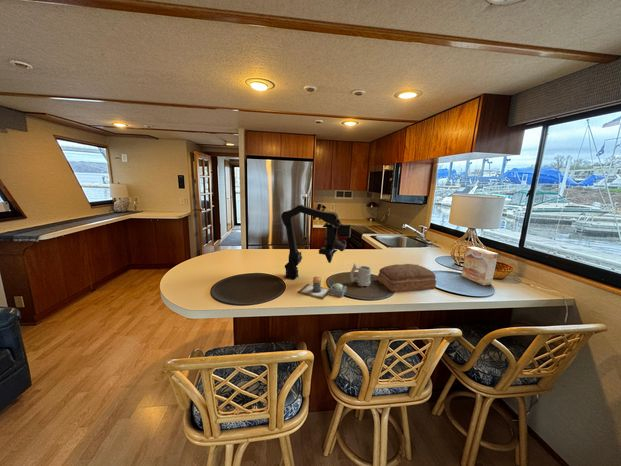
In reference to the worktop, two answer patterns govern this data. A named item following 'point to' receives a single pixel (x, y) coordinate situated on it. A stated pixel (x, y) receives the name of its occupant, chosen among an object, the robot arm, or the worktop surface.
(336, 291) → the button collar
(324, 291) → the picture frame
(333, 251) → the robot arm
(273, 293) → the worktop surface
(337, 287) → the button
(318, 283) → the marker
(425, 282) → the bread
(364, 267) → the mug
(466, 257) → the coffeecake box
